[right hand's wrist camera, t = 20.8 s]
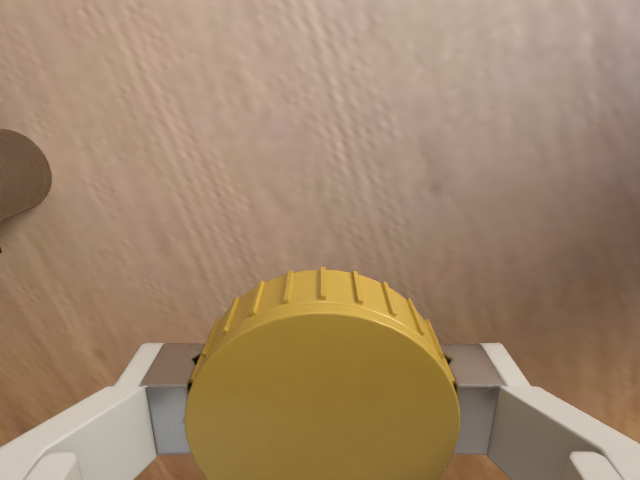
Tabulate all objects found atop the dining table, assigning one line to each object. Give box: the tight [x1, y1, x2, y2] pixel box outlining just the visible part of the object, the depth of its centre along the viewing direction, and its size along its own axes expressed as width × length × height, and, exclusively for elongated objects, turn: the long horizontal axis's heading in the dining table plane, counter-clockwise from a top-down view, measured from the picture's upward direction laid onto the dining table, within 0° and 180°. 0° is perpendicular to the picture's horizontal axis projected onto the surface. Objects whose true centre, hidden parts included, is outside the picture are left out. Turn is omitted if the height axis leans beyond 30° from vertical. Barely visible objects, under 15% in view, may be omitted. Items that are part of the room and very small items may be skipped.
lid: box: [184, 267, 460, 480], centre depth 9 cm, size 6×6×2 cm
